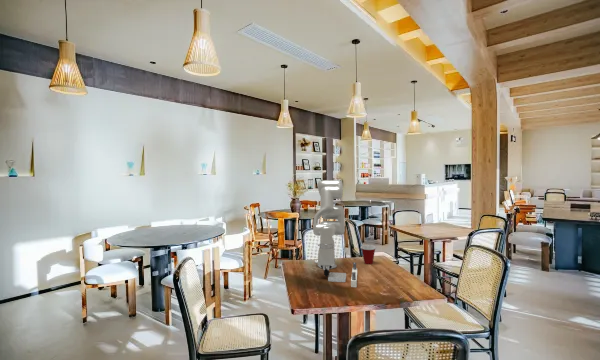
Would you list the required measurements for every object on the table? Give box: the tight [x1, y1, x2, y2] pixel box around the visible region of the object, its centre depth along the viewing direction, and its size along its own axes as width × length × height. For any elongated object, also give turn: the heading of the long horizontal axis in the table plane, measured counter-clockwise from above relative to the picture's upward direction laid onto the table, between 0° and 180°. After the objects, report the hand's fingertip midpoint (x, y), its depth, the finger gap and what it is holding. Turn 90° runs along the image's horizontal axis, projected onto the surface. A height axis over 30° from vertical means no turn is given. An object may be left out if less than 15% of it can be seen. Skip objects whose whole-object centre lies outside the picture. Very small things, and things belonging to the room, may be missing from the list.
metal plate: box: [327, 271, 347, 283], centre depth 194 cm, size 10×10×3 cm
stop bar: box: [350, 262, 358, 288], centre depth 192 cm, size 3×26×8 cm, turn 169°
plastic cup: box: [360, 244, 377, 265], centre depth 230 cm, size 11×11×12 cm
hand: (326, 276), depth 196 cm, fingers closed
